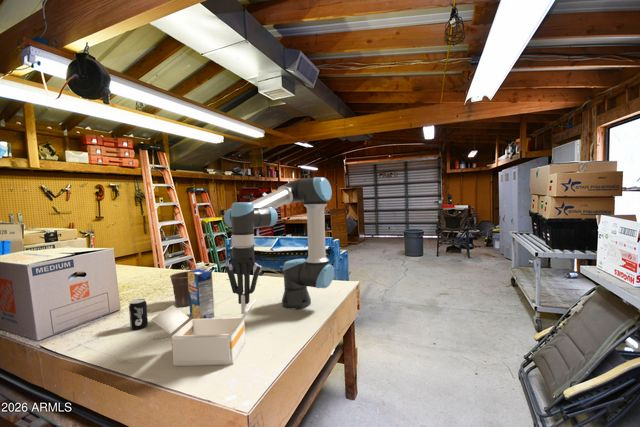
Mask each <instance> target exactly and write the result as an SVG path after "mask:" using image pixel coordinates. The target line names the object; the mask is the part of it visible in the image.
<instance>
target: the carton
mask: <svg viewBox="0 0 640 427" xmlns="http://www.w3.org/2000/svg"><path fill="white" fill-rule="evenodd" d="M241 318H242V316H240V317H216V318H215V317H213V318H207V319H194V318H192V319H190V320H189V321H188V322H187V323H186V324H185V325H183V327H181V328H179V330H177V332H175V333H174V334H173V335H171V350H172V361H173V367H184V366H185V367H187V366H191V367H192V366H194V367H195V366H220V365H221V366H225V365H226V366H227V365H229V366H230V365H231V366H232V365H234V363H235V362H236V360H237V358H239V355H240V353H241V352H242V350H243V348H244V346H245V344H246V330H245V329H246V328H245V319H244V320H243V321H242V323H241V324H240V325H239V327H238V328H237V329H236V331H235V332H234V329H235V328H236V326H237V325H238V323H239V321H240V320H241Z"/></svg>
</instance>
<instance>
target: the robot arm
mask: <svg viewBox="0 0 640 427" xmlns="http://www.w3.org/2000/svg"><path fill="white" fill-rule="evenodd" d="M332 194H333V193H332V187H331V184H330V182H329V180H328V179H327V178H326V177H321V176H320V177H317V176H314V177H308V178H307V177H306V178H298V179H294V180H291V181H290V182H287V183H285V184H283V185H281V186H279V187H278V188H277V189H276V190H275V191H272V192H270V193H267V194H266V195H263V196H261V197H259V198H257V199H254V200H252V201H249V202H248V201H247V202H244V201H243V202H241V201H240V202H233V203H232V204H231V207H230V208H228V209H227V210H226V211H225V212H224V214H223V220H224V223H225V224H226V225H227V226H228V227H231V246H232V248H231V261H230V263H229V264H228V265H226V266H224V270H225V272H226V273H227V276H228V279H229V283H230V287H231V289H232V290H231V291H232V293H233V294H236V295H237V296H238V297H237V298H238V299H237V300H238V301H237V302H238V304H240V306H241V307H240V310H241V311H240V314H241V315H244V313H245V312H246V310H247V309H248V304H249V303H250V295H251V294H253V293H254V292H255V290H256V286H257V282H258V279H259V278H258V277H259V273H260V271H261V270H262V268H263V266H262V265H261V264H260V265H259V264H258V263H257V262H256V259H255V246H254V245H255V228H256V229H257V228H269V227H273V226H275V225H276V224H277V222H278V218H279V217H278V216H279V215H278V213H277V212H278V211H277V210H276V209H278V208H280V207H282V206H284V205H290V204H292V203H302V202H303V206H304V207H305V208H306V217H307V218H306V222H307V223H306V225H307V255H308V256H307V258H306V259H305V258H295V259H291V260H287V261H284V263H283V281H284V282H283V284H284V292H283V294H282V299H281V306H282V307H283V308H284V309H288V310H299V309H304V308H307V307H309V306H310V305H311V303H312V299H311V296H310V292H309V291H308V288H309V287H311V288H317V289H326V288H328V287H329V286H330V285H331V284H332V282H333V280H334V275H335V270H334V269H335V268H334V267H333V265H332V264H330V259H329V258H328V257H327V256H326V227H325V226H326V222H325V221H326V219H325V216H326V215H325V208H326V207H327V206H328V202H329V201H330V200H331V199H332V196H333V195H332ZM252 269H253V270H254V272H253V275H252V280H251V278H250V277H251V276H250V275H251V271H252ZM234 270H235V272H236V275H235V272H234ZM236 277H237V278H236ZM236 279H237V280H236ZM250 280H251V281H250ZM250 282H251V283H250Z"/></svg>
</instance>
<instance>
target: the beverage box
mask: <svg viewBox="0 0 640 427" xmlns="http://www.w3.org/2000/svg"><path fill="white" fill-rule="evenodd" d="M187 272H188V288H189V304H190V306H189V316H190V318H192V319H207V318H215V302H214V285H213V284H214V283H213V271H212V270H210V269H205V268H197V269H193V270H187Z"/></svg>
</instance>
